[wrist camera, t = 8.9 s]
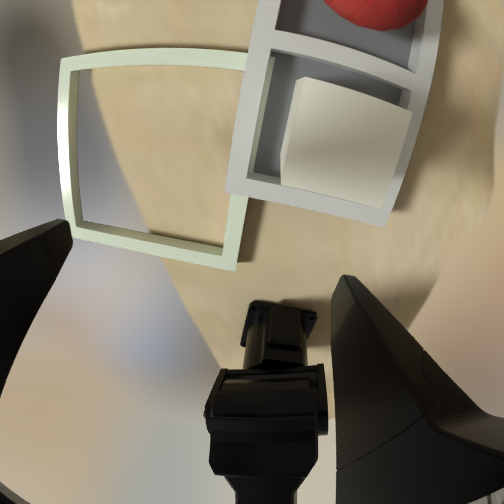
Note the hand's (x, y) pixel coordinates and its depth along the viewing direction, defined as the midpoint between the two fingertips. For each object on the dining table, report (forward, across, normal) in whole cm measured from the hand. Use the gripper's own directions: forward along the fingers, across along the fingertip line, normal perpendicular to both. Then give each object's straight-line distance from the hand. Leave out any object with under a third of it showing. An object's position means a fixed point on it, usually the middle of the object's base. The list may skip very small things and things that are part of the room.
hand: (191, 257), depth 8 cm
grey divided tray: (+12, -5, -8) cm, 16 cm away
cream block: (+12, -5, -3) cm, 13 cm away
